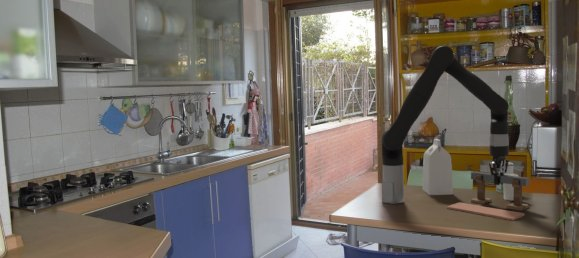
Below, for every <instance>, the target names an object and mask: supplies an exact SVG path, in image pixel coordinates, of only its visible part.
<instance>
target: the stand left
mask: <svg viewBox="0 0 579 258" xmlns="http://www.w3.org/2000/svg"><path fill="white" fill-rule="evenodd" d="M475 183H477V184H476V185H477V186H476V189H477V191H476V195H477V196H476V197H474V198H471V199H470V203H475V204H479V205H480V204H481V205H486V204H488V202H489V203H491V202H492V200H493V199H492V198H488V197H486V181H482V176H481V175H476V180H475Z"/></svg>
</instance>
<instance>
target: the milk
mask: <svg viewBox="0 0 579 258" xmlns="http://www.w3.org/2000/svg"><path fill="white" fill-rule="evenodd" d="M432 143H433V144H432V145H431V146H429V147H428V149H427V150H425V152H424V153H423V158H422V159H423V163H422V164H423V165H422V191H423V192H425V194H427V195H428V196H439V195H441V196H444V195H445V196H446V195H454V184H453V183H454V181H453V165H452V156H451V154H450V153H449V152H448V151H447V150H446V149H445V148H443V146H442V143H441V139H439V138H433V142H432Z"/></svg>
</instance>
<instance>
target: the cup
mask: <svg viewBox="0 0 579 258" xmlns="http://www.w3.org/2000/svg"><path fill="white" fill-rule="evenodd" d="M505 175H509V176H517V177H519V175H518V174H515V173H513V174H505ZM503 192H504V193H503V199H504V200H505V201H514V187H512V184H505V183H503Z"/></svg>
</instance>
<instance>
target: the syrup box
mask: <svg viewBox="0 0 579 258" xmlns="http://www.w3.org/2000/svg"><path fill="white" fill-rule="evenodd" d="M514 169H515V168H514V163H513V162H509V163H508V168H507V172H506V173H505V174H514ZM495 187H496V190H495V191H496V192H497V193H501V194H504V192H503V184H500V185H495Z"/></svg>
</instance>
